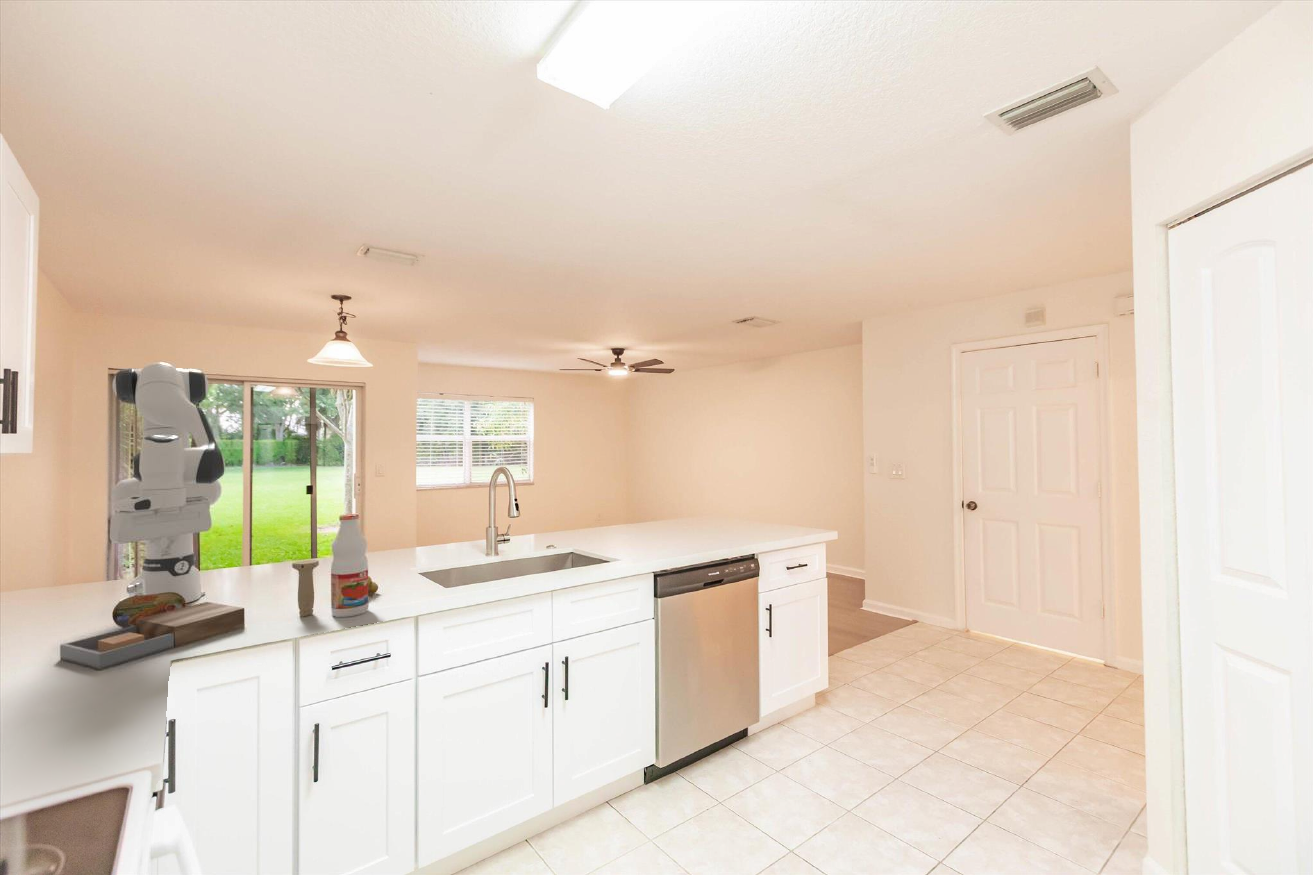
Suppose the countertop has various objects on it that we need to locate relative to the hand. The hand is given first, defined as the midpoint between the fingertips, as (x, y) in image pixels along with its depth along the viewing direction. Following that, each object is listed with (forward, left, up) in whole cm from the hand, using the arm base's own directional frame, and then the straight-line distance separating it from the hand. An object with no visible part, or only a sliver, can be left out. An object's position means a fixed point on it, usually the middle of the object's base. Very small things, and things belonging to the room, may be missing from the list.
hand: (164, 555), depth 144 cm
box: (+1, -10, -21) cm, 23 cm away
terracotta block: (+1, -9, -18) cm, 20 cm away
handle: (+15, +27, -21) cm, 37 cm away
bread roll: (+12, +45, -22) cm, 51 cm away
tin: (-17, +6, -22) cm, 28 cm away
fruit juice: (+25, +33, -21) cm, 46 cm away
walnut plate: (+1, +6, -21) cm, 22 cm away
